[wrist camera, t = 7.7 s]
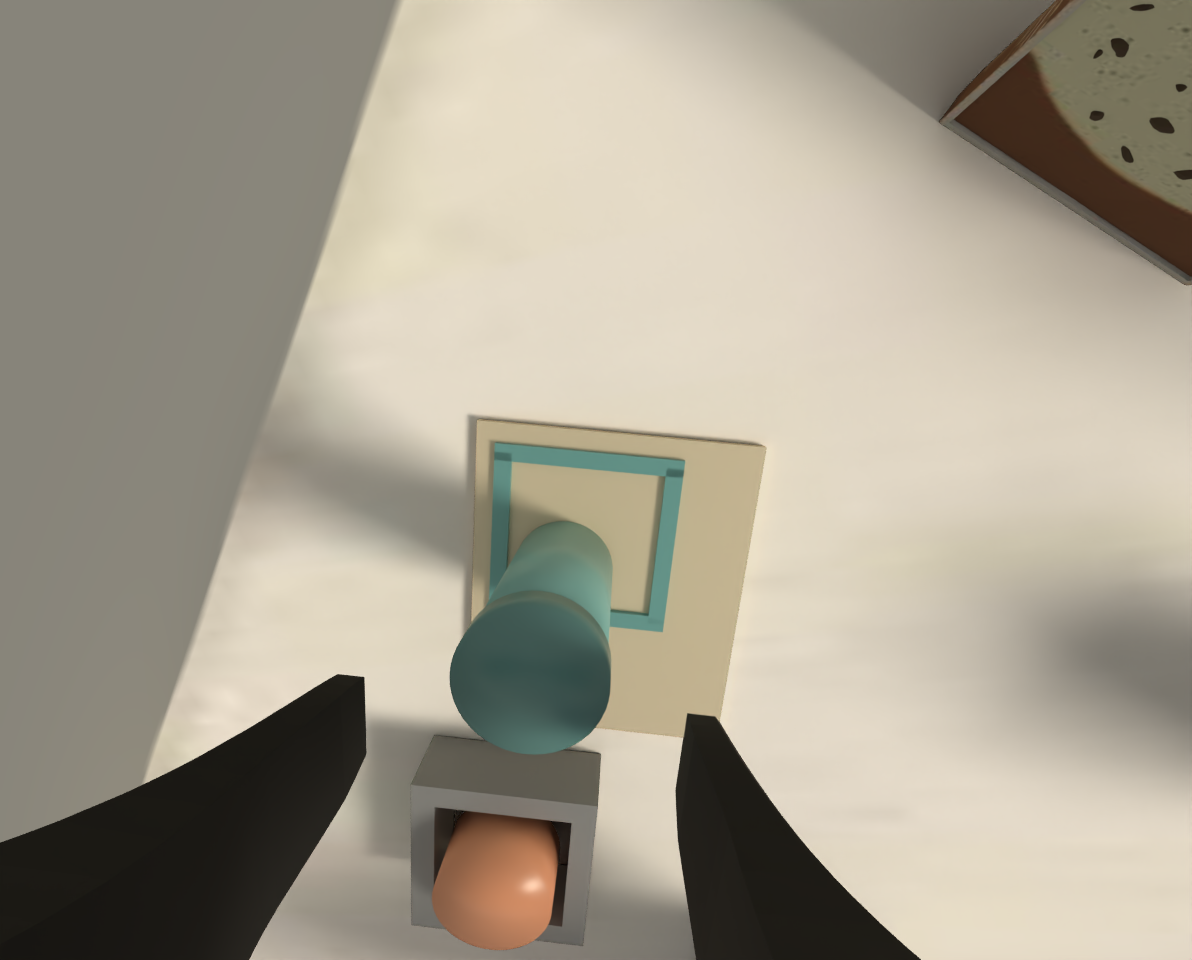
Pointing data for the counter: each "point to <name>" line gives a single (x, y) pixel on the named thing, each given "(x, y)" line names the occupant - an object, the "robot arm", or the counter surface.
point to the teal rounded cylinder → (540, 645)
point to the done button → (497, 880)
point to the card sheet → (632, 549)
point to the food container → (1098, 118)
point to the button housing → (505, 788)
